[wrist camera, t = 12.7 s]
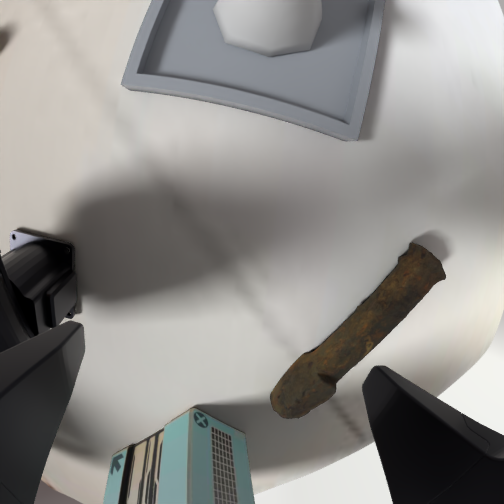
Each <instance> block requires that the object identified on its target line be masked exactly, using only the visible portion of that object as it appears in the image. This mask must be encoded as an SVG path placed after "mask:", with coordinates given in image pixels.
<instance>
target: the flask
mask: <svg viewBox="0 0 504 504" xmlns="http://www.w3.org/2000/svg"><path fill="white" fill-rule="evenodd" d="M213 11H214V14H215V17H216V19H217V22H218V25H219V28H220V30H221V33H222V36H223V39H224V41H225V43H227V44H230V45H234V46H237V47H240V48H243V49H246V50H249V51H252V52H255V53H258V54H261V55H264V56H267V57H271V56H276V55H282V54H287V53H293V52H299V51H306V50H310V48H311V46H312V43H313V41H314V38H315V36H316V33H317V31H318V28H319V26H320V23H321V21H322V2H321V0H218V1H217V3H216V5H215V6H214V8H213Z"/></svg>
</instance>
